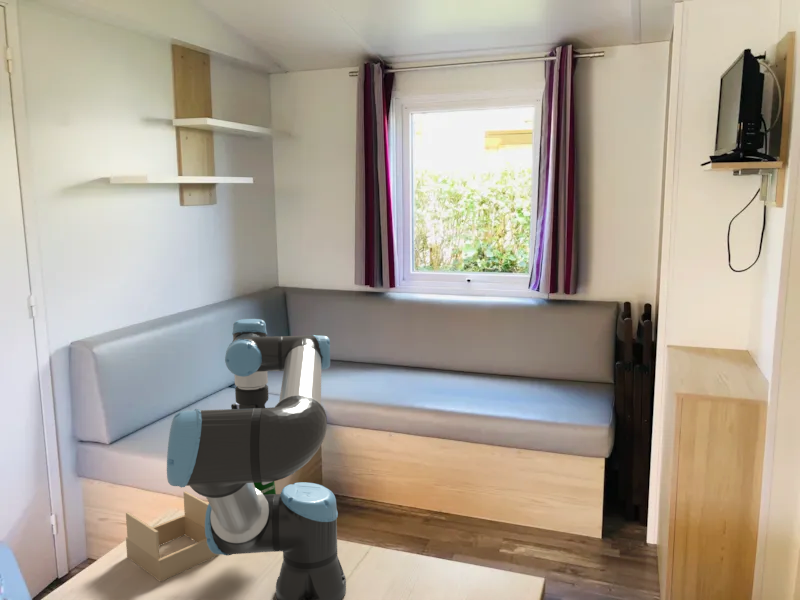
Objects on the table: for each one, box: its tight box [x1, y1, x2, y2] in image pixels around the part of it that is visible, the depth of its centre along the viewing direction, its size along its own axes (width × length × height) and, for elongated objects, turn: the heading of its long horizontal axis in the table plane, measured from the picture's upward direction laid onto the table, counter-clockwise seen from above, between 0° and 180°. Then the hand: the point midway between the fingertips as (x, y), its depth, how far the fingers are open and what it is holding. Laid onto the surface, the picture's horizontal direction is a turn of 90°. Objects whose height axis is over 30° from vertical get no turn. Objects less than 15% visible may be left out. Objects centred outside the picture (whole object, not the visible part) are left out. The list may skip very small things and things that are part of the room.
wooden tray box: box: [125, 490, 220, 582], centre depth 155 cm, size 16×16×12 cm
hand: (254, 477), depth 155 cm, fingers closed on soya milk, 9 cm apart
